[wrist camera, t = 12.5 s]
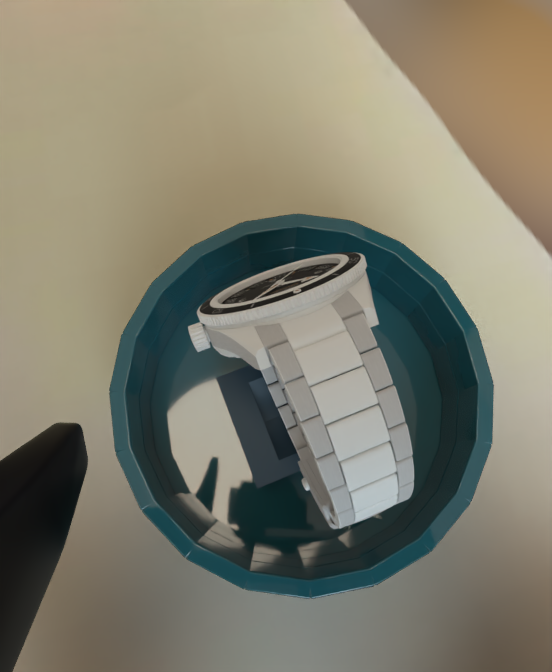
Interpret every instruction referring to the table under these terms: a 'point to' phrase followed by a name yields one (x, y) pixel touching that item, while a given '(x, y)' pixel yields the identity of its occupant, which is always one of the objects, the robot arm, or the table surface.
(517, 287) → the table surface
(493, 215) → the table surface
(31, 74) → the table surface
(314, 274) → the watch
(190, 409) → the bowl
